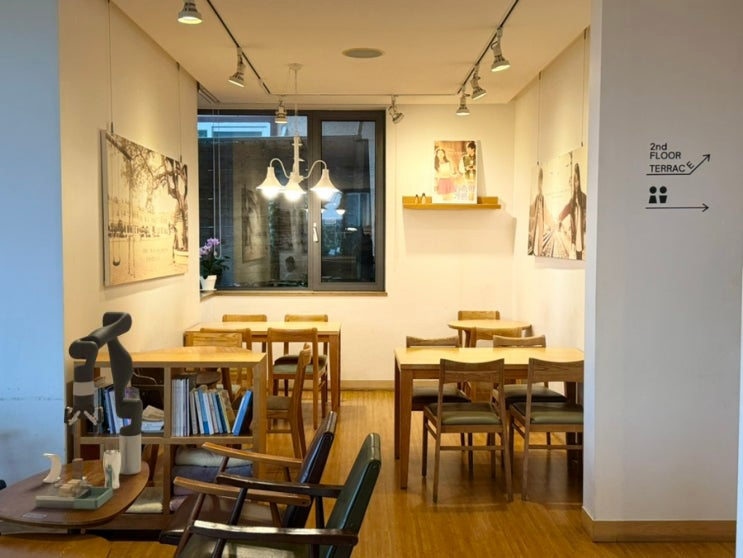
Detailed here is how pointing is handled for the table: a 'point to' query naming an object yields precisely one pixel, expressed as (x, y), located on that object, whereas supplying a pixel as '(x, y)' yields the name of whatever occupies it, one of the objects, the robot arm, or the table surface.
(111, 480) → the beer glass
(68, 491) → the maple cube
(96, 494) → the chip tray
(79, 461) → the rake tool
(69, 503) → the open box
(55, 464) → the headphone stand
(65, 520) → the table surface
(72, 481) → the maple cube
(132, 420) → the robot arm
